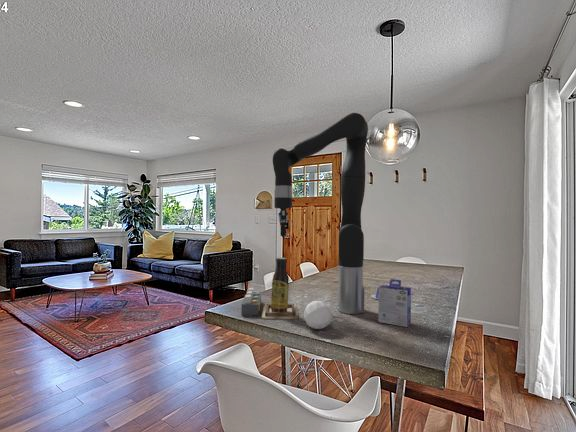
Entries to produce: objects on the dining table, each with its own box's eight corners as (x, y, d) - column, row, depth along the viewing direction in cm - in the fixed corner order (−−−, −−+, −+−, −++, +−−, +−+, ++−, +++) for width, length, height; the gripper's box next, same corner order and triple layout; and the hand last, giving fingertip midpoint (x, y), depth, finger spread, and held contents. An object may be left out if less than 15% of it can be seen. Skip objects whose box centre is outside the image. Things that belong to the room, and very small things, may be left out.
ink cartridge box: (411, 323, 107) (411, 280, 107) (408, 328, 102) (408, 283, 102) (382, 318, 112) (382, 277, 112) (377, 322, 107) (378, 280, 108)
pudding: (377, 294, 150) (377, 283, 150) (403, 298, 142) (403, 286, 142) (366, 298, 141) (366, 287, 141) (392, 303, 133) (392, 291, 133)
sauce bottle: (268, 312, 116) (268, 258, 116) (275, 308, 122) (275, 256, 122) (284, 314, 113) (285, 259, 114) (291, 310, 119) (291, 257, 119)
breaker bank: (261, 302, 132) (261, 287, 132) (258, 315, 114) (259, 297, 114) (246, 302, 132) (246, 287, 132) (241, 315, 114) (241, 297, 114)
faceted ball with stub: (333, 329, 95) (336, 321, 107) (324, 298, 97) (329, 294, 109) (306, 335, 97) (312, 327, 108) (298, 305, 99) (305, 301, 110)
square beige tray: (296, 307, 124) (296, 303, 124) (298, 319, 110) (298, 313, 110) (263, 307, 124) (263, 303, 124) (261, 319, 110) (261, 313, 110)
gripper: (292, 195, 126) (292, 236, 126) (291, 198, 140) (291, 234, 140) (274, 195, 126) (273, 236, 125) (274, 198, 140) (274, 234, 140)
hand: (283, 235), depth 133 cm, fingers open, 8 cm apart
